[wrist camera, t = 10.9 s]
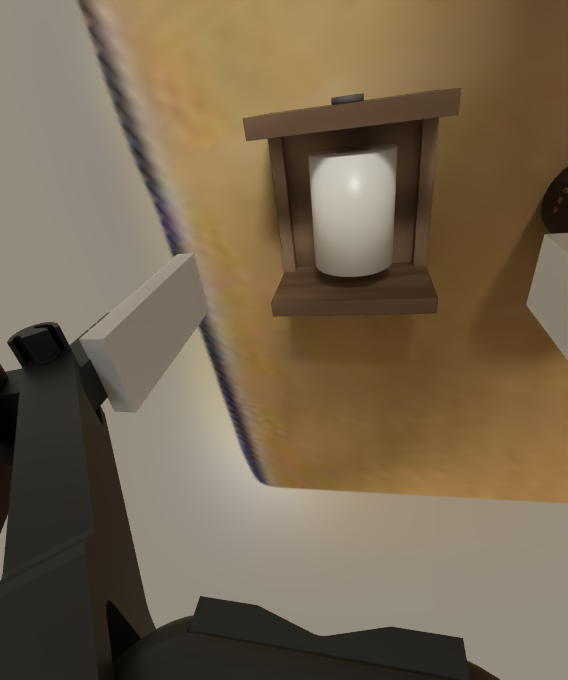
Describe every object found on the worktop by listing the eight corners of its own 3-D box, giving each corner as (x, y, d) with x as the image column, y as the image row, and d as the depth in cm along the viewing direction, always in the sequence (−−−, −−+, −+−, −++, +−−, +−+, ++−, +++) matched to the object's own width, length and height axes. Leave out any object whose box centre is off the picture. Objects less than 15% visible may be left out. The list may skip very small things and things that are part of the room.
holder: (269, 107, 28) (241, 110, 22) (437, 83, 26) (462, 78, 19) (290, 279, 36) (273, 320, 29) (421, 274, 33) (435, 318, 27)
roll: (299, 153, 28) (321, 161, 23) (376, 142, 28) (414, 147, 23) (307, 256, 32) (327, 282, 27) (374, 244, 32) (406, 268, 27)
